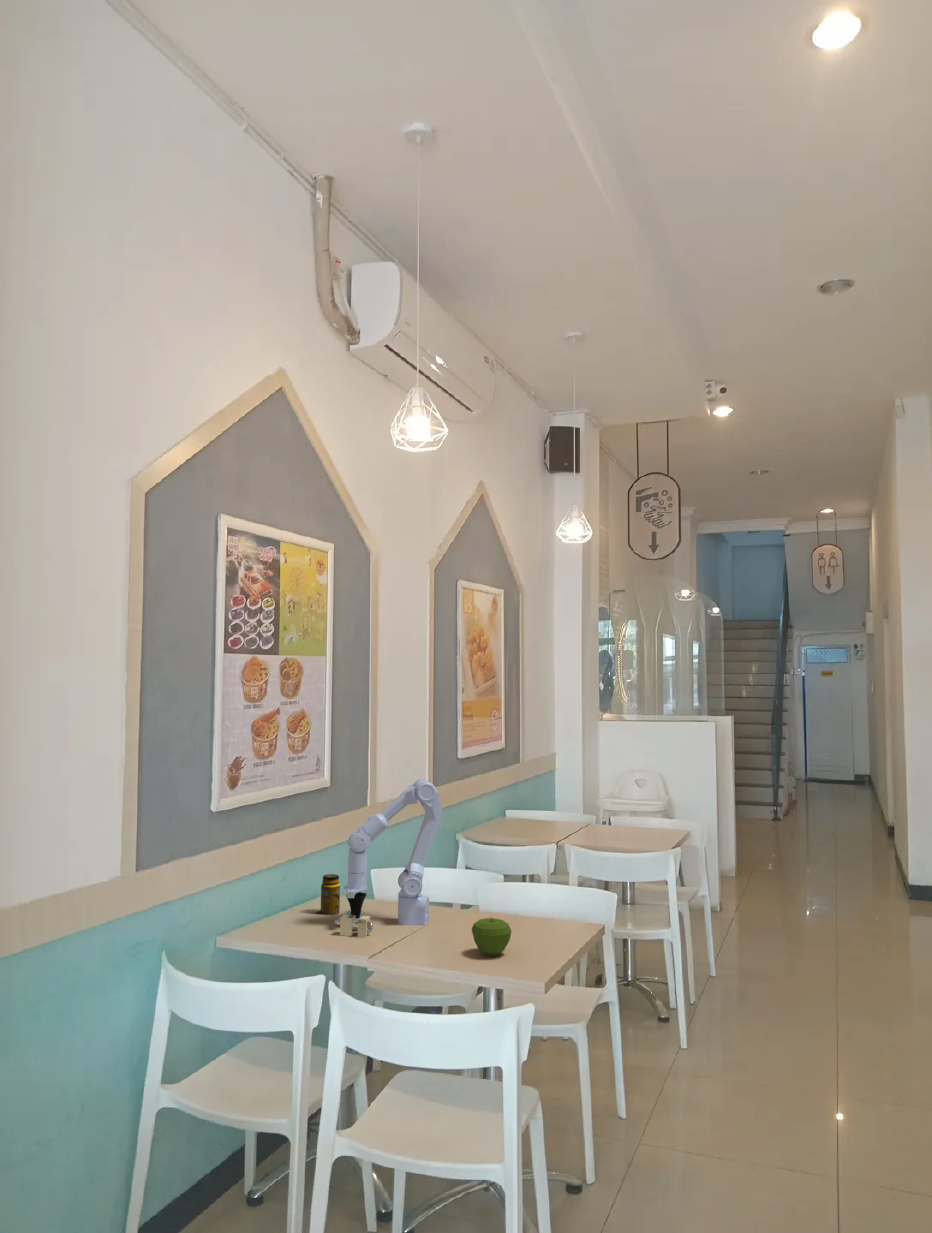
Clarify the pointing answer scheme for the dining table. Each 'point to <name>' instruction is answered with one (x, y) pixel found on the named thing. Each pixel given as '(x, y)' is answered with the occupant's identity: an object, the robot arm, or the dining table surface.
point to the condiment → (330, 896)
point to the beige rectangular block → (350, 925)
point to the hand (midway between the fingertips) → (356, 917)
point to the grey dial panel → (363, 926)
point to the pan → (346, 914)
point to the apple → (491, 935)
